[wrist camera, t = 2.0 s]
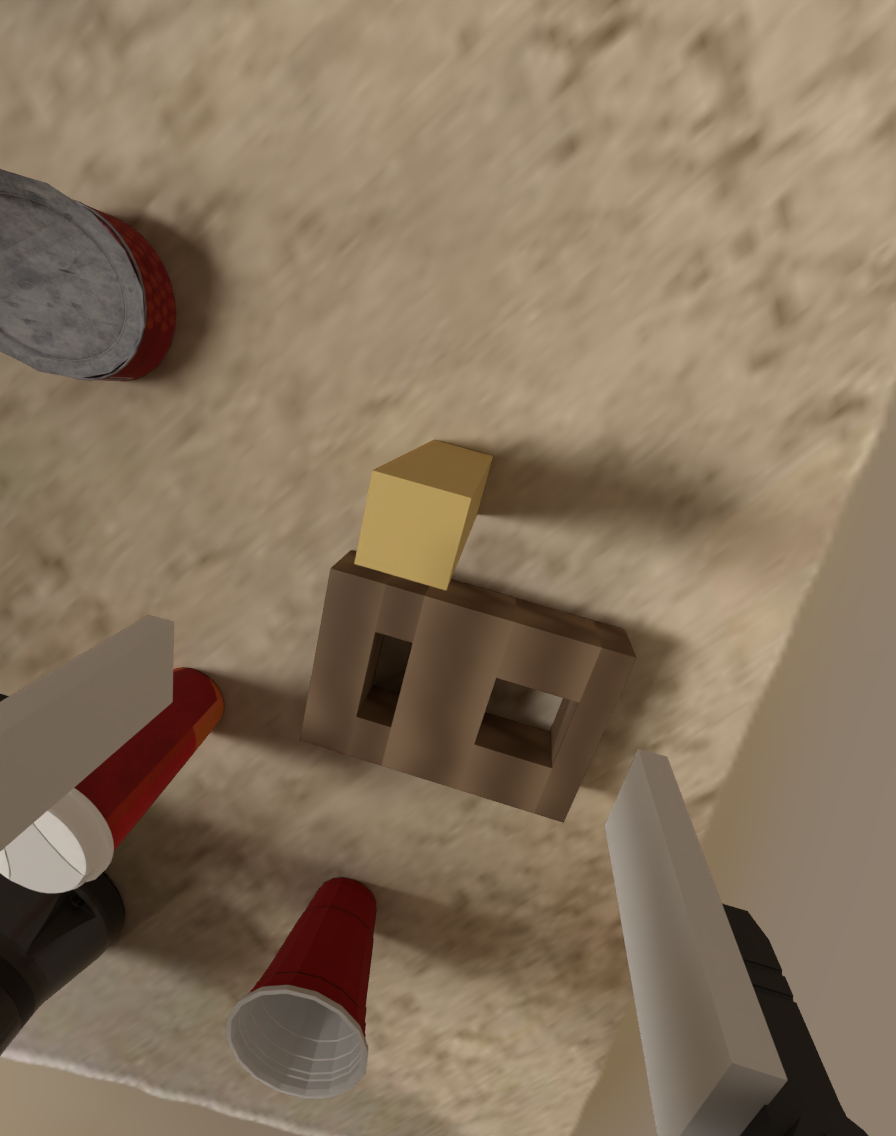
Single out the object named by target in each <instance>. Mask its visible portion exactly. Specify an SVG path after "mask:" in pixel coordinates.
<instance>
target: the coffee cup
mask: <svg viewBox="0 0 896 1136" xmlns="http://www.w3.org/2000/svg"><path fill="white" fill-rule="evenodd" d="M223 712H224V700H223V696H222V694H221V691H220V690H219V688H218V686H217V685H216V684H215V683H214V682H213V681H212V680H211V679H210V678H209V677H208V676H206V675H205V674H203V673H202V672H199V671H197V670H194V669H191V668H176V669H173V702H172V703H171V704H170V705H169V706H167V707H166V708H165V709H164V710H163V711H162V712H160V713H159V714H158V715H157V716H156V717H155V718H154V719H152V720H151V721H150V722H149V723H148V724H147V725H146V726H144V727H143V728H142V729H141V730H140V731H139V732H137V733H136V734H135V735H134V736H133V737H132V738H131V739H129V740H128V741H127V742H126V743H125V744H124V745H122V746H121V747H120V748H119V749H118V750H117V751H116V752H114V753H113V754H112V755H111V756H110V757H109V758H108V759H106V760H105V761H104V762H103V763H102V764H101V765H99V766H98V767H97V768H96V769H95V770H94V771H93V772H91V773H90V774H89V775H88V776H87V777H86V778H84V779H83V780H82V781H81V782H80V783H79V784H78V785H76V786H75V787H74V788H73V789H72V790H71V791H70V792H68V793H67V794H66V795H65V796H64V797H63V798H61V799H60V800H59V801H58V802H57V803H56V804H55V805H53V806H52V807H51V808H50V809H49V810H48V811H46V812H45V813H44V814H43V815H42V816H41V817H40V818H38V819H37V820H36V821H35V822H34V823H33V824H32V825H30V826H29V827H28V828H27V829H26V830H25V831H23V832H22V833H21V834H20V835H19V836H18V837H17V838H15V839H14V840H13V841H12V842H11V843H10V844H8V845H7V846H6V847H5V848H4V849H3V850H2V851H0V873H1V874H2V875H3V876H5V877H6V878H8V879H10V880H11V881H13V882H15V883H17V884H19V885H21V886H24V887H26V888H28V889H31V890H34V891H37V892H43V893H62V892H66V891H70V890H72V889H76V888H78V887H80V886H81V885H82V884H84V883H85V882H88V881H92V880H95V879H96V878H97V877H98V876H99V875H100V874H101V873H102V872H104V871H105V870H106V869H107V867H108V866H109V864H110V863H111V860H112V858H113V853H114V850H115V849H116V848H117V847H118V845H119V844H120V843H121V842H122V840H123V839H124V838H125V837H126V836H127V834H128V833H129V832H130V831H131V829H132V828H133V827H134V826H135V825H136V823H137V822H138V821H139V820H140V818H141V817H142V816H143V815H144V814H145V812H146V811H147V810H148V809H149V807H150V806H151V805H152V804H153V803H154V801H155V800H156V799H157V798H158V796H159V795H160V794H161V793H162V792H163V790H164V789H165V788H166V787H167V785H168V784H169V783H170V782H171V781H172V779H173V778H174V777H175V776H176V774H177V773H178V772H179V771H180V769H181V768H182V767H183V766H184V765H185V763H186V762H187V761H188V760H189V758H190V757H191V756H192V755H193V753H194V752H195V751H196V750H197V748H198V747H199V746H200V745H201V743H202V742H203V741H204V740H205V738H206V737H207V736H208V735H209V733H210V732H211V731H212V730H213V728H214V727H215V726H216V724H217V723H218V722H219V720H220V718H221V717H222V715H223Z"/></svg>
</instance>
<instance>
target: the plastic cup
mask: <svg viewBox="0 0 896 1136" xmlns="http://www.w3.org/2000/svg"><path fill="white" fill-rule="evenodd" d="M375 919H376V901H375V898H374V896H373V894H372V893H371V892H370V891H369V890H368V888H367V887H366V886H364V885H362V884H361V883H359V882H357V881H355V880H351V879H347V878H333V879H331V880H329V881H326V882H324V884H323V885H322V887H320V888H319V890H318V891H317V893H316V894H315V895H314V897H313V899H312V900H311V902H310V904H309V905H308V907H307V909H306V910H305V912H304V913H303V914H302V916H301V917H300V918H299V920H298V921H297V923H296V924H295V926H294V928H293V929H292V931H291V932H290V934H289V936H288V937H287V939H286V940H285V942H284V944H283V945H282V947H281V948H280V950H279V952H278V953H277V955H276V956H275V958H274V960H273V961H272V963H271V964H270V966H269V968H268V969H267V970H266V971H265V973H264V974H263V976H262V977H261V979H260V980H259V981H258V982H257V983H256V985H255V986H254V988H253V989H252V990H251V991H250V993H248V994H247V995H245V996H243V997H242V998H241V999H240V1000H239V1002H238V1003H237V1005H236V1006H235V1008H234V1009H233V1011H232V1012H231V1014H230V1015H229V1017H228V1018H227V1041H228V1043H229V1045H230V1048H231V1050H232V1052H233V1054H234V1056H235V1058H236V1060H237V1061H238V1062H239V1063H240V1064H241V1065H242V1066H243V1067H244V1068H245V1069H246V1070H247V1071H248V1072H249V1073H250V1074H251V1075H252V1076H253V1077H254V1078H255V1079H256V1080H258V1081H260V1082H262V1083H264V1084H265V1085H267V1086H269V1087H271V1088H273V1089H274V1090H276V1091H278V1092H281V1093H285V1094H289V1095H293V1096H296V1097H300V1098H304V1099H315V1098H332V1097H335V1096H337V1095H340V1094H342V1093H345V1092H347V1091H349V1090H352V1089H353V1088H354V1087H355V1086H356V1084H357V1083H358V1082H359V1081H360V1080H361V1078H362V1077H363V1076H364V1075H365V1073H366V1066H367V1058H368V1045H367V1042H366V1039H365V1036H366V1035H365V1026H366V1023H365V1016H366V998H367V990H368V982H369V974H370V966H371V958H372V949H373V940H374V939H373V934H374V926H375Z"/></svg>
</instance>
